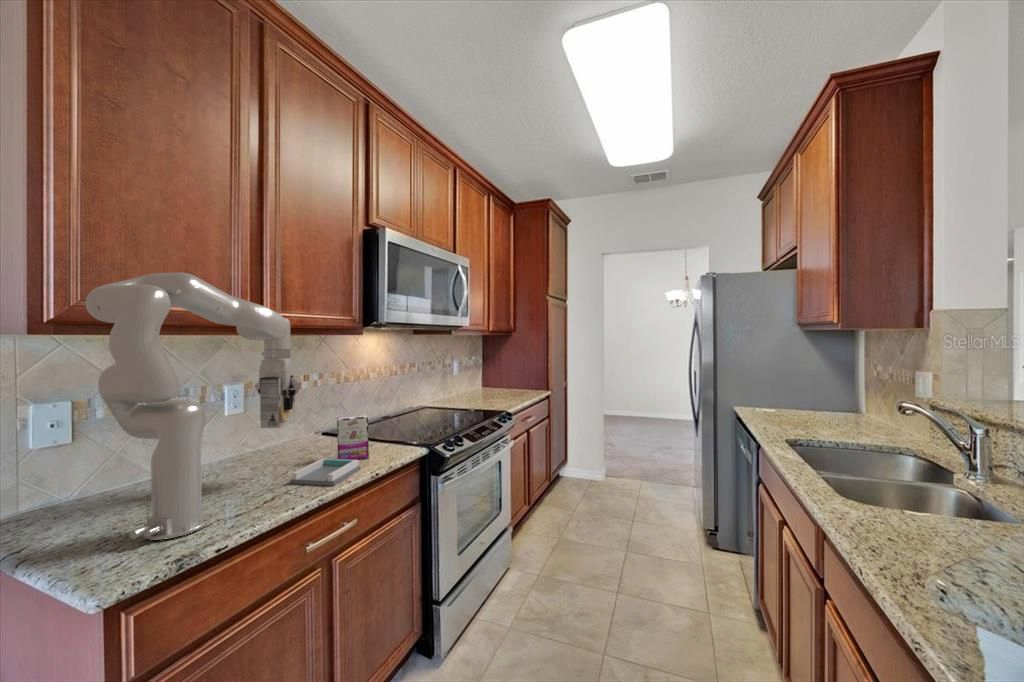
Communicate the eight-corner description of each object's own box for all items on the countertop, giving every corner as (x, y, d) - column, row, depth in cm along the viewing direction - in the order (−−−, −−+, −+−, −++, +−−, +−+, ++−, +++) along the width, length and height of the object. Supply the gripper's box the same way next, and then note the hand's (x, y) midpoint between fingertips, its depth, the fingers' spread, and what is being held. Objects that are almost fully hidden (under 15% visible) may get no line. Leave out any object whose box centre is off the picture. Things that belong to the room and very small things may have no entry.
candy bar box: (367, 455, 162) (367, 414, 162) (369, 458, 158) (368, 416, 158) (337, 459, 157) (336, 416, 157) (337, 462, 153) (337, 419, 153)
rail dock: (334, 486, 128) (333, 475, 128) (290, 483, 131) (290, 473, 131) (360, 469, 144) (360, 459, 144) (321, 468, 146) (321, 458, 146)
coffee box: (276, 422, 138) (276, 375, 138) (295, 422, 138) (295, 375, 138) (259, 428, 129) (259, 377, 129) (279, 428, 129) (279, 377, 129)
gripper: (244, 355, 131) (245, 411, 131) (294, 355, 129) (294, 412, 129) (262, 354, 138) (262, 407, 138) (309, 354, 136) (309, 408, 136)
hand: (277, 409), depth 133 cm, fingers closed on coffee box, 6 cm apart
